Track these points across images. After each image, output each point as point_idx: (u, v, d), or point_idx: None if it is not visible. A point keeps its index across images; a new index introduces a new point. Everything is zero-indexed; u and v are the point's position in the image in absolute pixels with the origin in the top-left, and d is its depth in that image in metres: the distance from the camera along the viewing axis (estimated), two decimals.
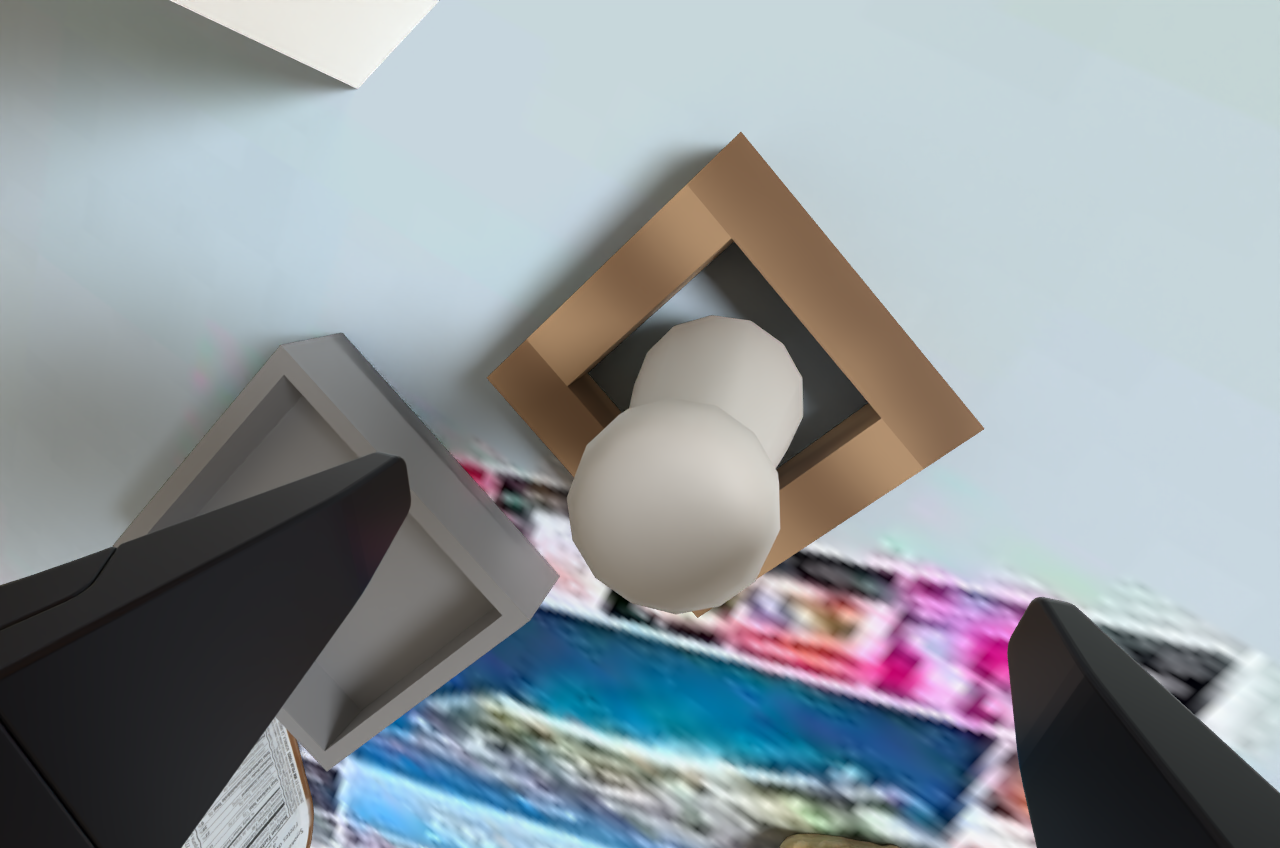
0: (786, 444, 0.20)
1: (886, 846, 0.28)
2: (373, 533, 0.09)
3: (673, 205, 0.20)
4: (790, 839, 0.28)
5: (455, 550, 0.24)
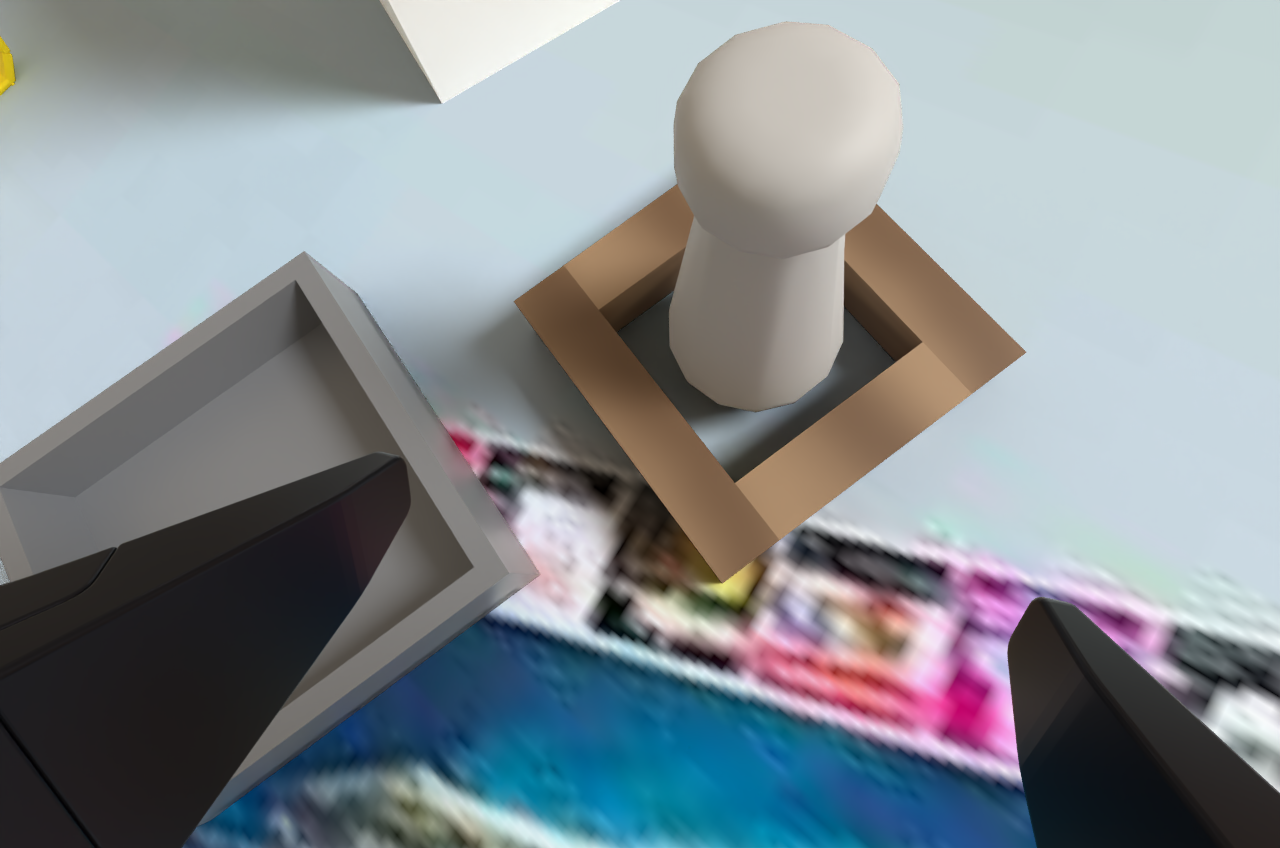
0: (837, 328, 0.19)
1: None
2: (373, 533, 0.09)
3: None
4: None
5: (434, 477, 0.20)
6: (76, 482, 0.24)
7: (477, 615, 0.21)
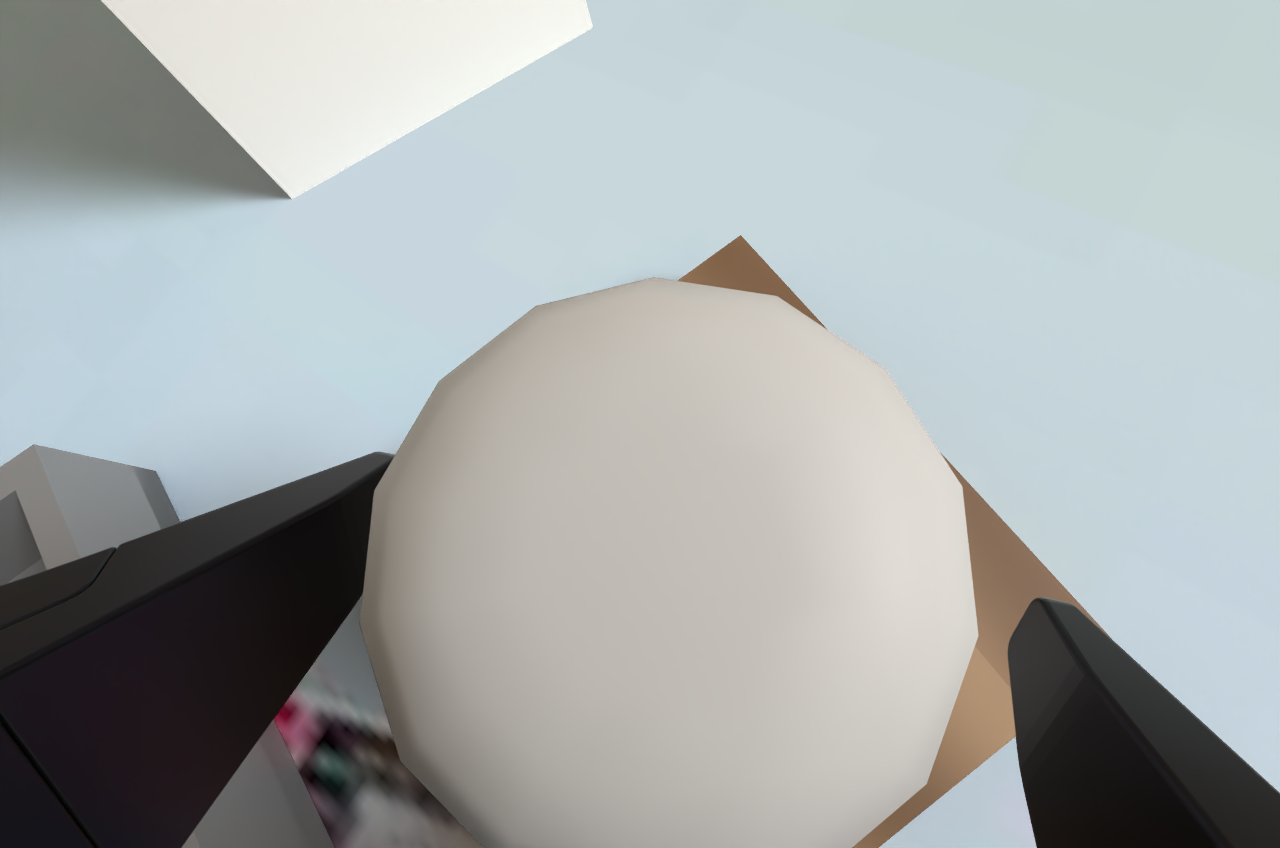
0: None
1: None
2: None
3: None
4: None
5: None
6: None
7: None
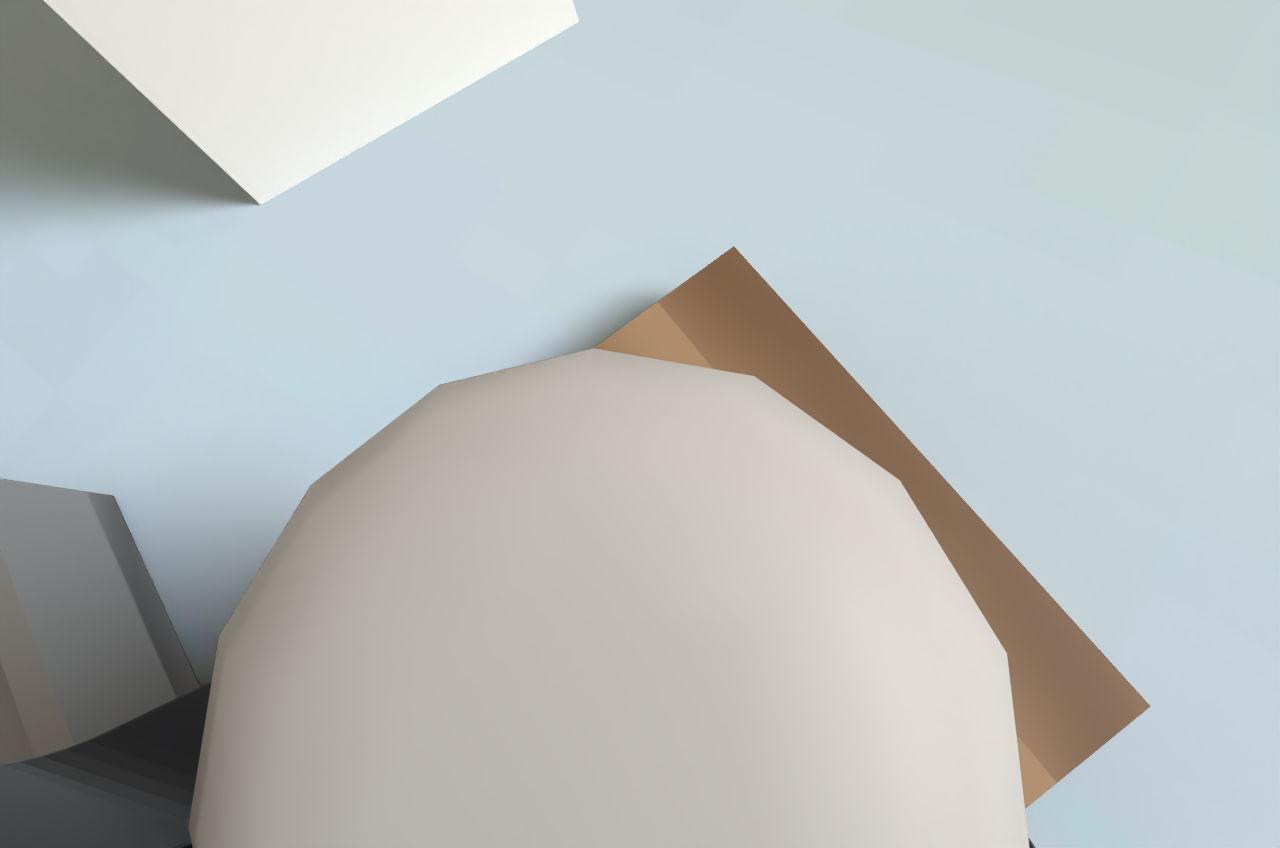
0: None
1: None
2: None
3: (636, 326, 0.14)
4: None
5: None
6: None
7: None
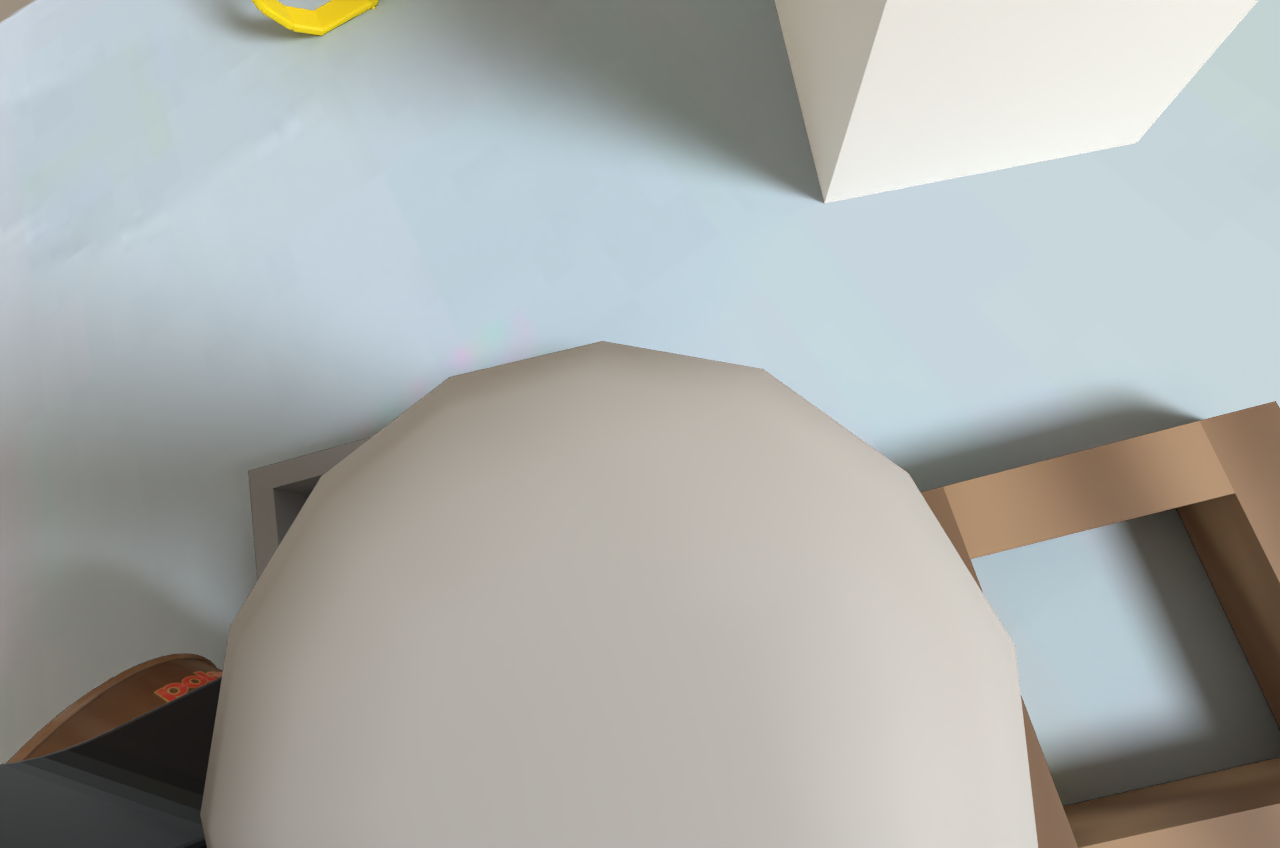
0: None
1: None
2: None
3: (1177, 433, 0.19)
4: None
5: None
6: None
7: None
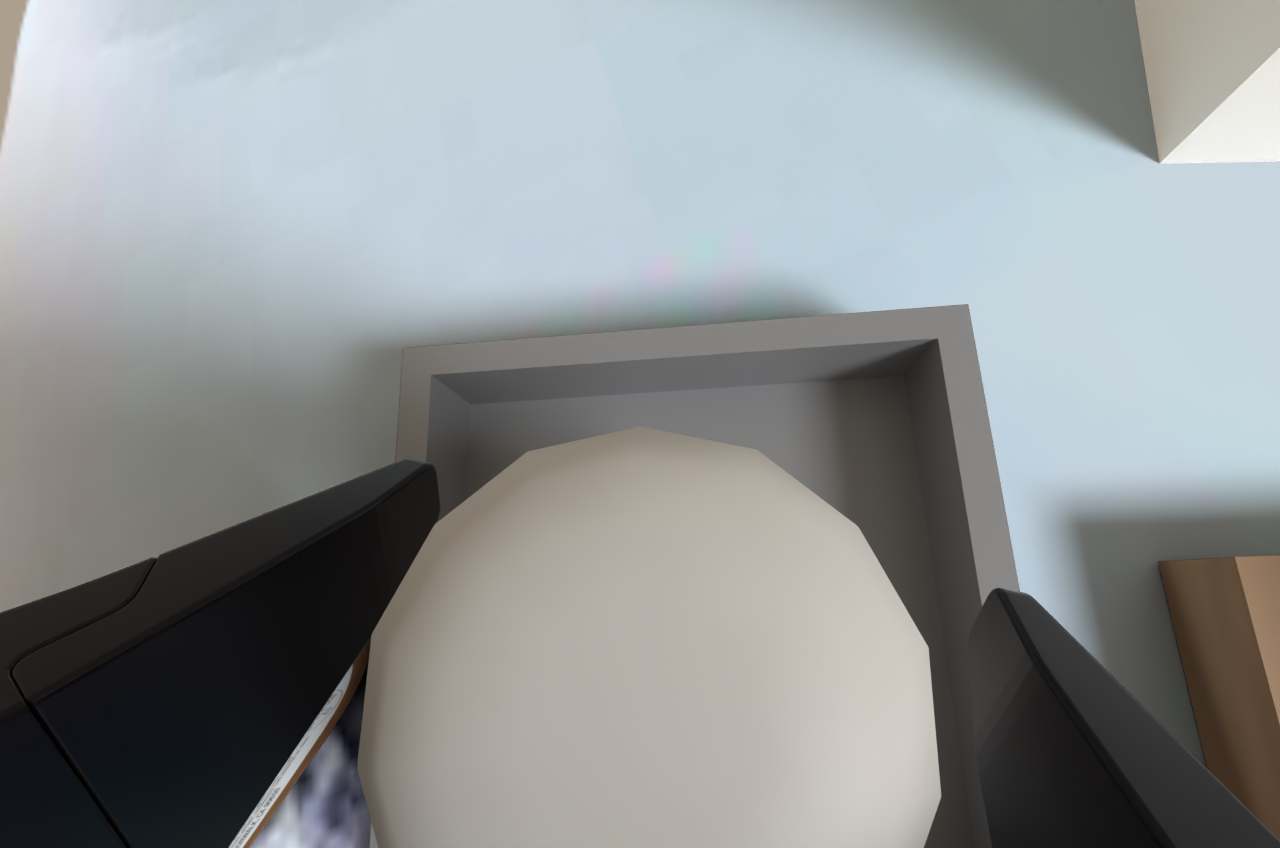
0: None
1: None
2: (405, 541, 0.09)
3: None
4: None
5: None
6: (489, 396, 0.18)
7: None
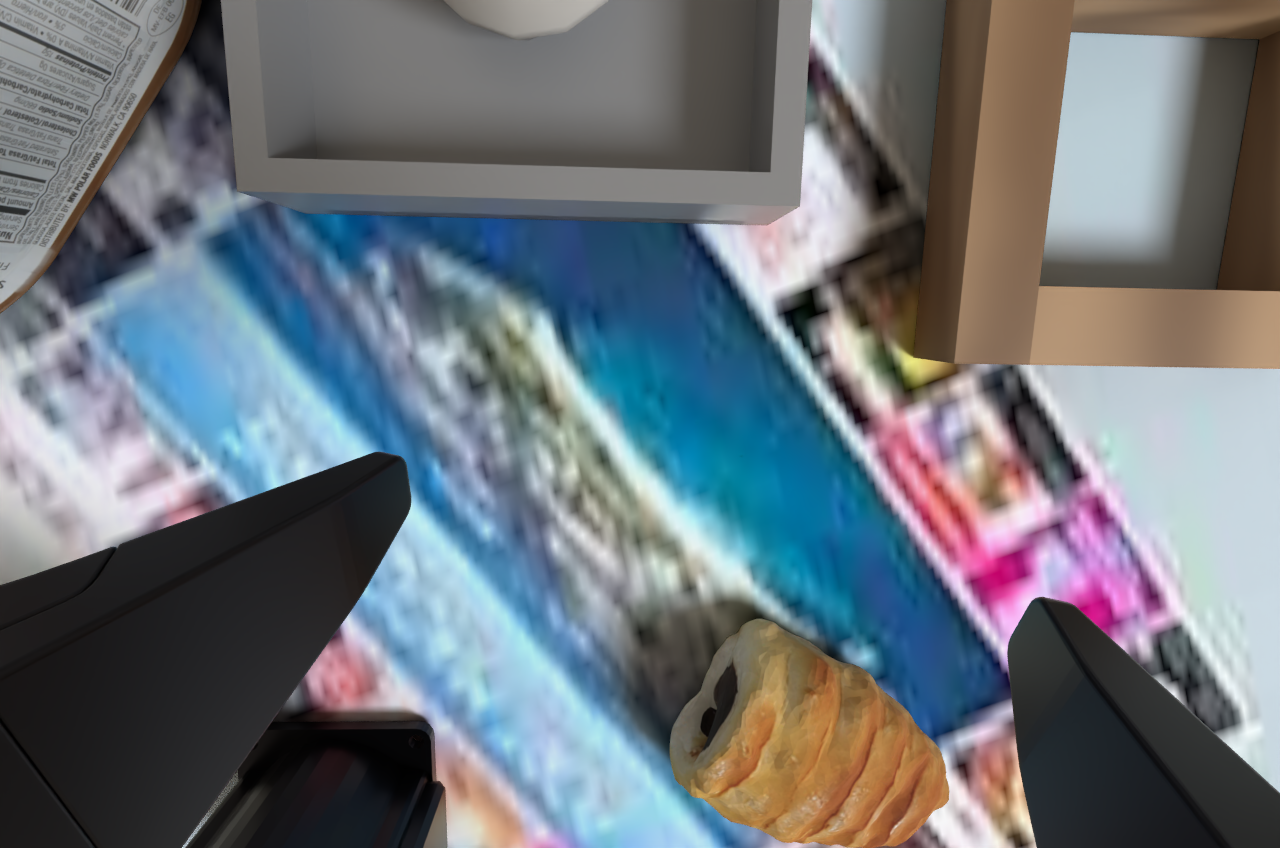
0: None
1: None
2: (373, 533, 0.09)
3: None
4: (762, 619, 0.21)
5: (794, 38, 0.15)
6: None
7: (697, 218, 0.18)
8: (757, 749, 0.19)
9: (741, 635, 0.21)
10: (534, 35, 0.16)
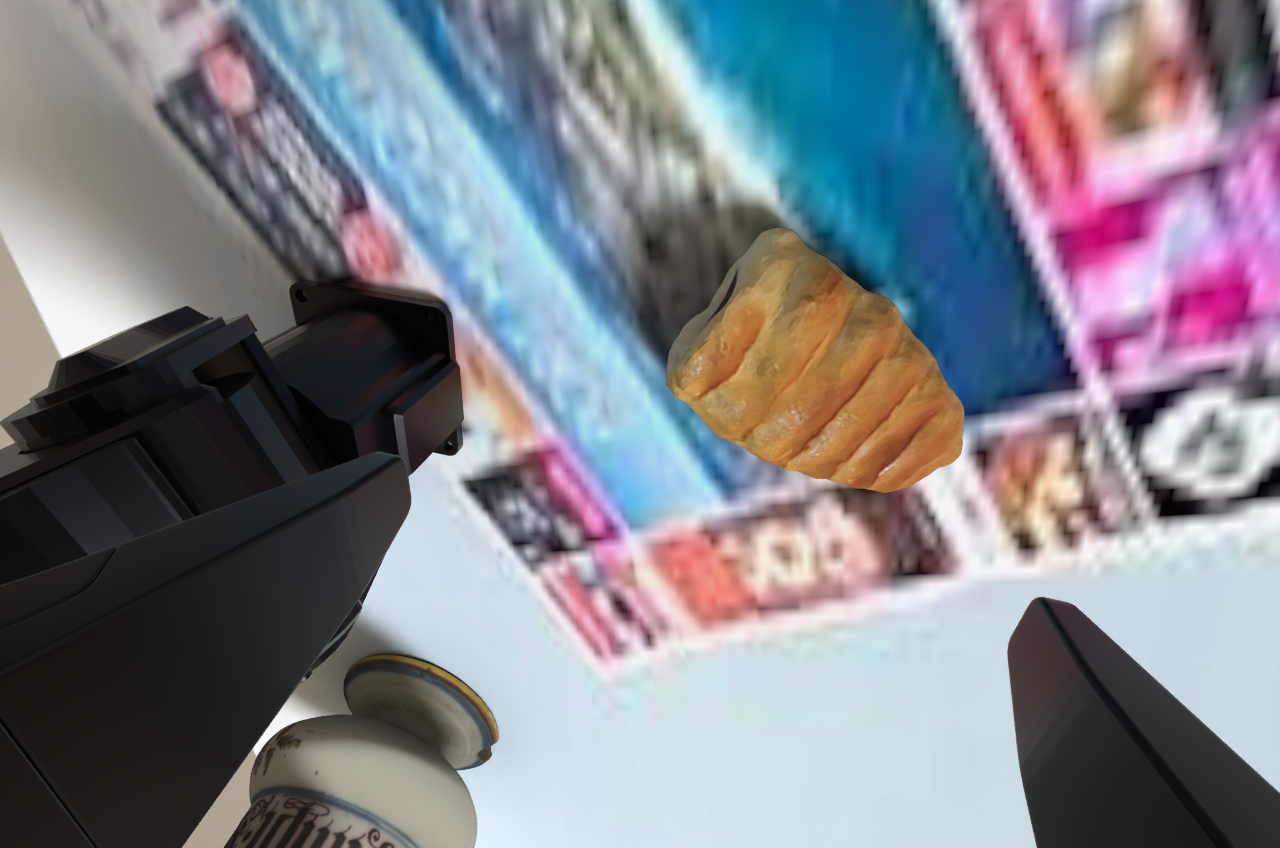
0: None
1: None
2: (373, 533, 0.09)
3: None
4: None
5: None
6: None
7: None
8: (740, 352, 0.18)
9: (754, 242, 0.19)
10: None
